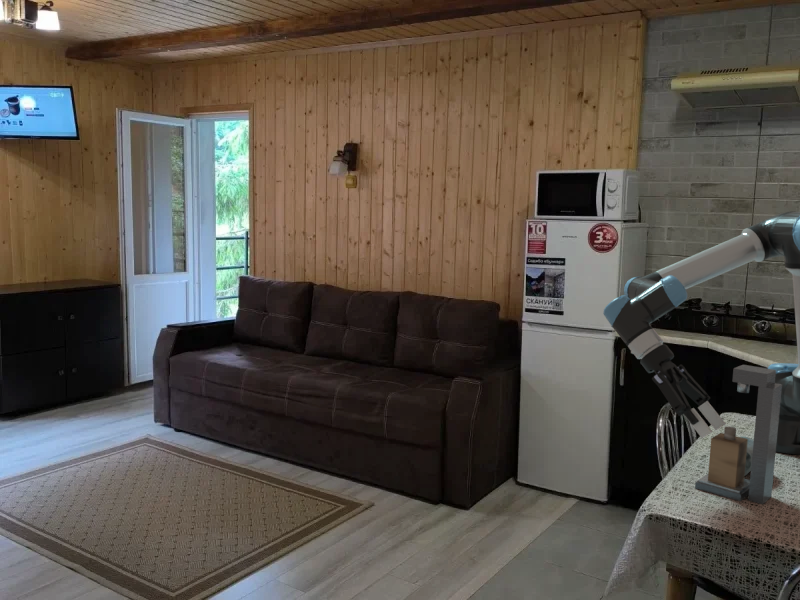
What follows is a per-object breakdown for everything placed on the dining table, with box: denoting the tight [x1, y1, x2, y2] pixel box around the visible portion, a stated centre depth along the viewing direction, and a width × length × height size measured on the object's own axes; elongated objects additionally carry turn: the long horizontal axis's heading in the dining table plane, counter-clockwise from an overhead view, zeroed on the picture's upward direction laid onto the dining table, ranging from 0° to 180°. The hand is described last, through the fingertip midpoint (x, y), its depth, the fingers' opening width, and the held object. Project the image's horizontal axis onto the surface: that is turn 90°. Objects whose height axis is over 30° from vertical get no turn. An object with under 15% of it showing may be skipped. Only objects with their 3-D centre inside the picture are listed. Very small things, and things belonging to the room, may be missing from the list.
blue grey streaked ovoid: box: [740, 436, 754, 477], centre depth 175 cm, size 14×10×10 cm
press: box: [694, 364, 782, 505], centre depth 161 cm, size 10×14×29 cm
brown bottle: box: [707, 426, 748, 488], centre depth 163 cm, size 6×6×12 cm
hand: (714, 430), depth 164 cm, fingers open, 8 cm apart
